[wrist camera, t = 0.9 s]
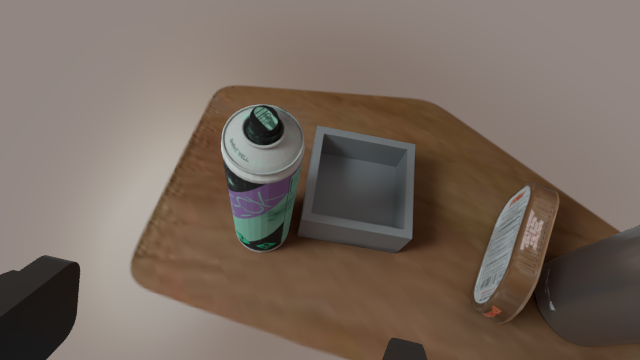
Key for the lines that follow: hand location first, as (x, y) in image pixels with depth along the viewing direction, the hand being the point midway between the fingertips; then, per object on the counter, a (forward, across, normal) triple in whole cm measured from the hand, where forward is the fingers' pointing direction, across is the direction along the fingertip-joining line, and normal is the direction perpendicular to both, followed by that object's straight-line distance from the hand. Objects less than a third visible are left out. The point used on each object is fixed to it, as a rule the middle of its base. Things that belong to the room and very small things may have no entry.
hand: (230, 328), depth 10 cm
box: (+33, -7, +7) cm, 34 cm away
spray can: (+30, +2, +11) cm, 32 cm away
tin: (+31, -23, +9) cm, 40 cm away
